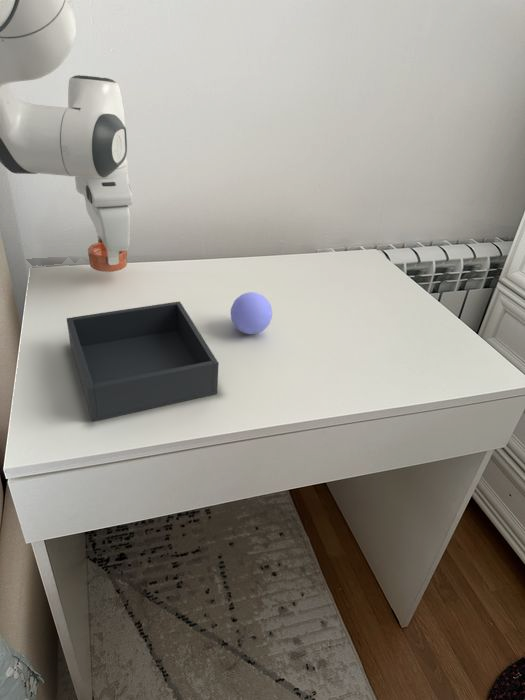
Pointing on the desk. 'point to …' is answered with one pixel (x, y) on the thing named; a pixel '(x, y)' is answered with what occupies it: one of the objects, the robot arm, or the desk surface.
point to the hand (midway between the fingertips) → (108, 254)
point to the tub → (140, 359)
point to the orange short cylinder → (105, 258)
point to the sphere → (251, 313)
